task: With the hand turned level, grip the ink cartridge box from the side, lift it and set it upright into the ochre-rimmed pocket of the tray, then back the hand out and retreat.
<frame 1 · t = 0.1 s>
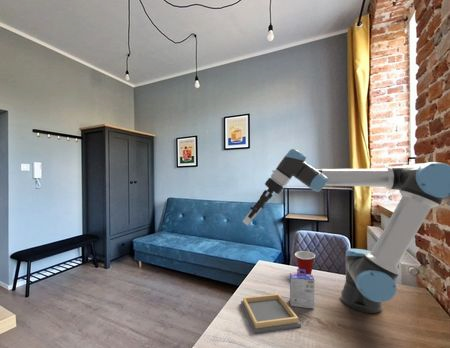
hand: (248, 220, 98), 36 cm above the table, tool tilted 35°, fingers open, 13 cm apart
tray: (268, 314, 88), on the table
plastic cup: (304, 275, 122), on the table
ink cartridge box: (301, 304, 95), on the table
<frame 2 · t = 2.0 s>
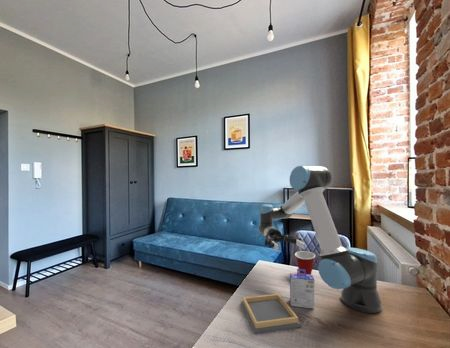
hand: (291, 247, 105), 21 cm above the table, tool horizontal, fingers open, 13 cm apart
nothing on the table moved.
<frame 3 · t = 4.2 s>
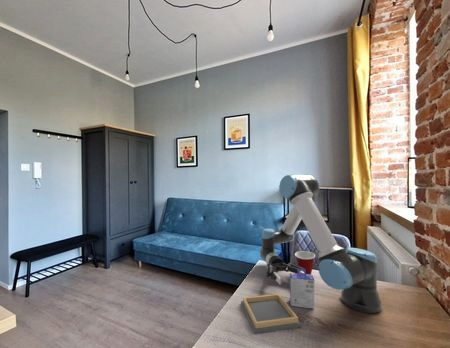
hand: (294, 280, 101), 7 cm above the table, tool horizontal, fingers open, 13 cm apart
nothing on the table moved.
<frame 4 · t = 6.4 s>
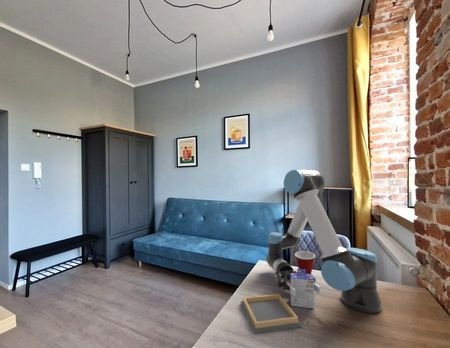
hand: (307, 291, 91), 8 cm above the table, tool horizontal, fingers closed on ink cartridge box, 11 cm apart
ink cartridge box: (301, 304, 95), on the table, touching gripper
everything else where it was.
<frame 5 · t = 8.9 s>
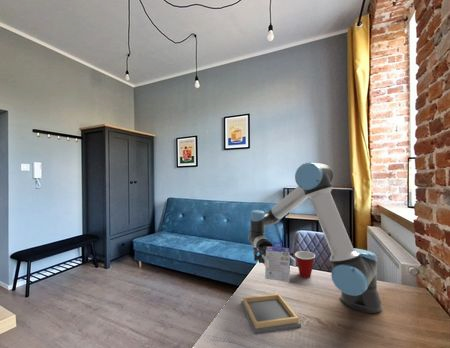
hand: (281, 264, 88), 20 cm above the table, tool horizontal, fingers closed on ink cartridge box, 11 cm apart
ink cartridge box: (277, 278, 92), point 13 cm above the table, touching gripper
everything else where it was.
when the fingers open (10 cm above the table, at t = 11.7 s): ink cartridge box drops 1 cm, resting on tray.
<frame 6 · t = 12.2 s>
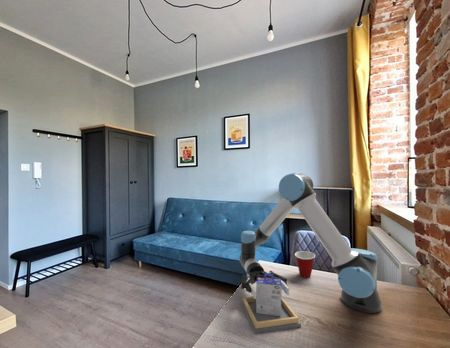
hand: (272, 293, 85), 10 cm above the table, tool horizontal, fingers open, 13 cm apart
ink cartridge box: (268, 311, 88), point 1 cm above the table, touching tray
everything else where it was.
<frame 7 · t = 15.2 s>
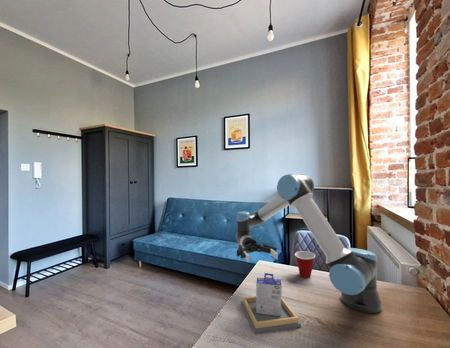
hand: (263, 257, 99), 19 cm above the table, tool horizontal, fingers open, 13 cm apart
nothing on the table moved.
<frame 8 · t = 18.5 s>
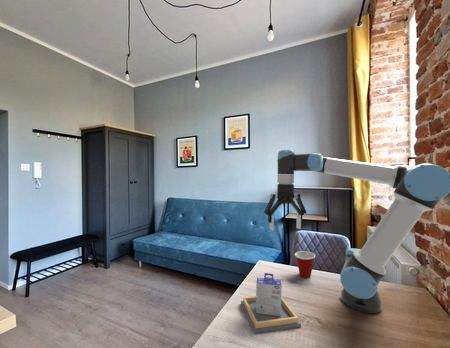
hand: (285, 229, 102), 31 cm above the table, tool pointing down, fingers open, 13 cm apart
nothing on the table moved.
at the end: ink cartridge box inside the target area on the tray (0.2 cm from its centre), point 1.0 cm above the tray's base; ink cartridge box tilted 0°; the gripper is holding nothing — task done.
